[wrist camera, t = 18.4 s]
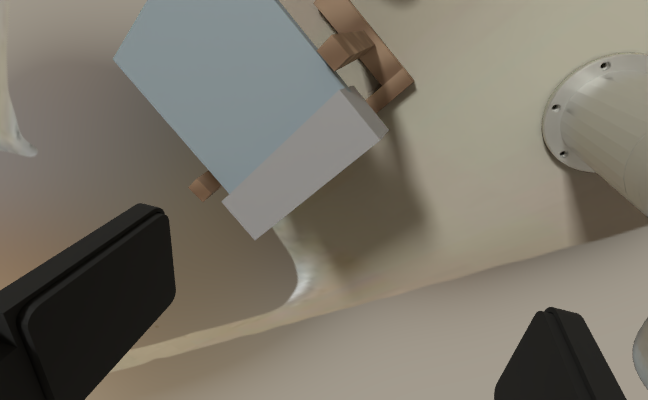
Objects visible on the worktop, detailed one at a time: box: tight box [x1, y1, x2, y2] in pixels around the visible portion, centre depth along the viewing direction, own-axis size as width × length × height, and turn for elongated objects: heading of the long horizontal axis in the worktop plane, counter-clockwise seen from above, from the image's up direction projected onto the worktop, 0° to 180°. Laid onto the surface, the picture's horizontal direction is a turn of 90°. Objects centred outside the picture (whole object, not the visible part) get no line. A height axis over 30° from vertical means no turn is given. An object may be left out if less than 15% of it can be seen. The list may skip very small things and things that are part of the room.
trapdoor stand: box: [189, 0, 414, 202], centre depth 39 cm, size 14×22×17 cm, turn 134°
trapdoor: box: [113, 0, 389, 240], centre depth 33 cm, size 22×16×4 cm
